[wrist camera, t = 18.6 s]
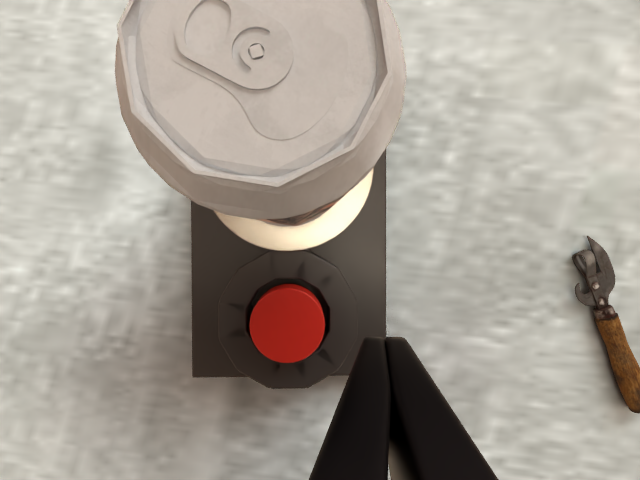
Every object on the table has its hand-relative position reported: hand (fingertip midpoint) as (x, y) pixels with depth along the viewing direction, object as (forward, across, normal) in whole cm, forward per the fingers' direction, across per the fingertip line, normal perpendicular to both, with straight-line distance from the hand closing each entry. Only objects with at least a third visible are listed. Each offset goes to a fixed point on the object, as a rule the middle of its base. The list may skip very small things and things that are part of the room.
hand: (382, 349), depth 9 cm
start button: (+7, +3, +7) cm, 10 cm away
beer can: (+10, +3, +1) cm, 11 cm away
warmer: (+11, +3, +5) cm, 13 cm away
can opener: (+10, -13, +10) cm, 19 cm away
